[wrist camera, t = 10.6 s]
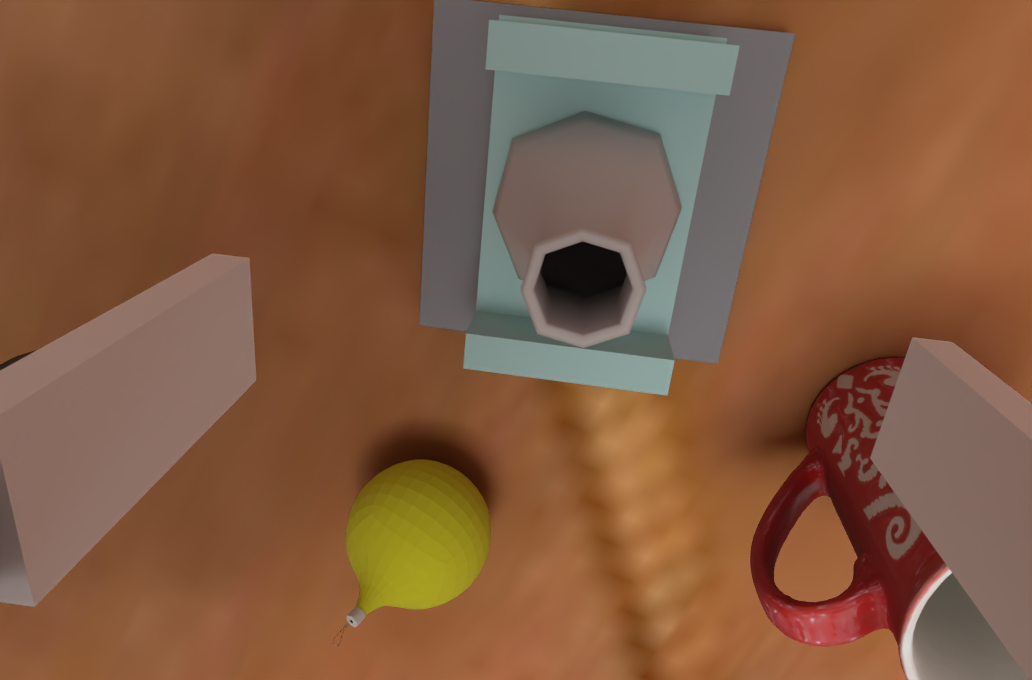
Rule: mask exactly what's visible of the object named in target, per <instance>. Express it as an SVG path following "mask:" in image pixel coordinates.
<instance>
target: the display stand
mask: <svg viewBox="0 0 1032 680" xmlns="http://www.w3.org/2000/svg"><path fill="white" fill-rule="evenodd" d="M794 36H795V33H786V32H776V31H767V30H757V29H747V28H737V27H728V26H718V25H708V24H698V23H689V22H679V21H669V20H659V19H650V18H640V17H630V16H620V15H611V14H601V13H591V12H581V11H572V10H562V9H552V8H542V7H533V6H523V5H513V4H503V3H494V2H484V1H474V0H434V13H433V35H432V57H431V79H430V102H429V124H428V146H427V168H426V191H425V213H424V235H423V257H422V280H421V302H420V324H419V325H421V326H429V327H437V328H444V329H452V330H460V331H467V332H466V339H465V352H464V366H463V369H471V370H478V371H486V372H493V373H501V374H509V375H516V376H524V377H531V378H539V379H546V380H554V381H562V382H569V383H577V384H584V385H592V386H599V387H607V388H615V389H622V390H630V391H637V392H645V393H652V394H660V395H668V390H669V385H670V381H671V376H672V371H673V366H674V361H675V360H674V358H677V359H684V360H692V361H700V362H708V363H715V364H718V360H719V356H720V352H721V347H722V343H723V339H724V335H725V330H726V326H727V322H728V318H729V313H730V309H731V305H732V300H733V296H734V292H735V288H736V283H737V279H738V275H739V271H740V266H741V262H742V258H743V254H744V249H745V245H746V241H747V237H748V232H749V228H750V224H751V219H752V215H753V211H754V207H755V202H756V198H757V194H758V190H759V185H760V181H761V177H762V173H763V168H764V164H765V160H766V156H767V151H768V147H769V143H770V138H771V134H772V130H773V126H774V121H775V117H776V113H777V109H778V104H779V100H780V96H781V92H782V87H783V83H784V79H785V75H786V70H787V66H788V62H789V57H790V53H791V49H792V45H793V40H794ZM583 111H587V112H591V113H594V114H597V115H600V116H604V117H607V118H610V119H613V120H617V121H620V122H623V123H626V124H630V125H633V126H636V127H639V128H643V129H646V130H649V131H652V132H656V133H659V134H660V135H661V138H662V141H663V145H664V148H665V152H666V155H667V158H668V162H669V165H670V168H671V172H672V175H673V178H674V182H675V185H676V189H677V192H678V195H679V199H680V202H681V205H682V209H681V212H680V215H679V217H678V220H677V222H676V225H675V228H674V230H673V233H672V235H671V238H670V241H669V243H668V246H667V248H666V251H665V254H664V256H663V259H662V261H661V264H660V267H659V269H658V272H657V274H656V277H654V278H652V279H649V280H645V281H644V282H645V285H646V292H645V295H644V297H643V300H642V302H641V305H640V308H639V310H638V313H637V315H636V318H635V321H634V323H633V326H632V329H631V331H630V334H627V335H624V336H621V337H617V338H614V339H611V340H608V341H604V342H601V343H598V344H595V345H591V346H588V347H585V348H582V347H578V346H575V345H572V344H568V343H565V342H562V341H558V340H555V339H552V338H548V337H545V336H542V335H539V334H537V332H536V329H535V327H534V324H533V322H532V319H531V316H530V314H529V311H528V309H527V306H526V304H525V301H524V299H523V296H522V294H521V286H522V283H523V280H520V279H518V276H517V274H516V271H515V268H514V266H513V263H512V261H511V258H510V256H509V253H508V251H507V248H506V246H505V243H504V240H503V238H502V235H501V233H500V230H499V228H498V225H497V223H496V220H495V218H494V215H493V213H492V212H493V208H494V204H495V200H496V197H497V193H498V189H499V186H500V182H501V178H502V175H503V171H504V167H505V164H506V160H507V156H508V153H509V149H510V145H511V142H512V139H514V138H516V137H519V136H522V135H524V134H527V133H529V132H532V131H535V130H537V129H540V128H542V127H545V126H547V125H550V124H553V123H555V122H558V121H560V120H563V119H565V118H568V117H571V116H573V115H576V114H578V113H581V112H583Z"/></svg>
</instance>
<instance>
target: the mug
mask: <svg viewBox="0 0 1032 680" xmlns="http://www.w3.org/2000/svg"><path fill="white" fill-rule="evenodd" d="M904 360H905V358H887V359H877V360H874V361H870V362H867V363H864V364H861V365H859V366H856V367H854V368H852V369H850V370H848V371H847V372H845V373H843V374H842V375H840V376H839V377H838V378H836V379H835V380H834V381H833V382H831V383H830V384H829V385H828V386H827V387H826V388H825V389H824V390H823V391H822V392H821V394H820V395H819V396H818V398H817V400H816V401H815V403H814V405H813V407H812V408H811V410H810V413H809V416H808V420H807V425H806V443H807V447H808V450H809V454H808V455H807V456H806V457H805V459H804V460H803V461H802V462H801V463H800V465H799V466H798V467H797V468H796V469H795V470H794V471H793V472H792V473H791V474H790V476H789V477H788V478H787V480H786V481H785V482H784V484H783V485H782V486H781V488H780V489H779V490H778V492H777V493H776V495H775V496H774V498H773V499H772V501H771V502H770V504H769V505H768V507H767V509H766V510H765V512H764V514H763V516H762V518H761V520H760V522H759V524H758V527H757V529H756V532H755V534H754V537H753V541H752V546H751V556H750V565H751V573H752V578H753V582H754V585H755V588H756V591H757V594H758V597H759V599H760V602H761V604H762V606H763V608H764V610H765V613H766V615H767V616H768V618H769V619H770V621H771V622H772V623H773V624H774V625H775V626H776V627H777V628H778V629H779V630H780V631H781V632H782V633H784V634H785V635H786V636H787V637H789V638H791V639H793V640H796V641H799V642H801V643H805V644H809V645H814V646H835V645H841V644H845V643H849V642H852V641H854V640H857V639H859V638H861V637H863V636H865V635H867V634H869V633H871V632H873V631H875V630H879V629H883V628H886V629H889V630H891V631H892V633H893V634H894V637H895V639H896V641H897V644H898V647H899V656H900V661H901V666H902V669H903V671H904V674H905V676H906V678H907V680H1029V679H1028V678H1027V677H1026V675H1025V674H1024V672H1023V671H1022V670H1021V668H1020V667H1019V666H1018V664H1017V663H1016V661H1015V660H1014V659H1013V657H1012V656H1011V654H1010V653H1009V652H1008V650H1007V649H1006V647H1005V646H1004V645H1003V643H1002V642H1001V640H1000V639H999V638H998V636H997V635H996V633H995V632H994V631H993V629H992V628H991V626H990V625H989V624H988V622H987V621H986V619H985V618H984V617H983V615H982V614H981V612H980V611H979V610H978V608H977V607H976V605H975V604H974V603H973V601H972V600H971V598H970V597H969V596H968V594H967V593H966V591H965V590H964V589H963V587H962V586H961V584H960V583H959V582H958V580H957V579H956V577H955V576H954V575H953V573H952V572H951V570H950V569H949V568H948V566H947V565H946V564H945V562H944V561H943V559H942V558H941V557H940V555H939V554H938V552H937V551H936V550H935V548H934V547H933V545H932V544H931V543H930V541H929V540H928V538H927V537H926V536H925V534H924V533H923V531H922V530H921V529H920V527H919V526H918V524H917V523H916V522H915V520H914V519H913V517H912V516H911V515H910V513H909V512H908V510H907V509H906V508H905V506H904V505H903V503H902V502H901V501H900V499H899V498H898V496H897V495H896V494H895V492H894V491H893V489H892V488H891V487H890V485H889V484H888V482H887V481H886V480H885V478H884V477H883V475H882V474H881V473H880V471H879V470H878V468H877V467H876V466H875V464H874V463H873V461H872V460H871V459H870V457H871V454H872V451H873V448H874V445H875V443H876V440H877V437H878V434H879V431H880V428H881V425H882V423H883V420H884V417H885V414H886V411H887V408H888V405H889V402H890V400H891V397H892V394H893V391H894V388H895V385H896V382H897V380H898V377H899V374H900V371H901V368H902V365H903V362H904ZM820 496H828V497H830V498H831V500H832V502H833V505H834V507H835V509H836V512H837V514H838V516H839V518H840V520H841V522H842V524H843V527H844V529H845V531H846V533H847V535H848V537H849V539H850V542H851V544H852V546H853V548H854V550H855V553H856V555H857V557H858V558H857V560H856V561H855V563H854V574H853V581H852V583H851V585H850V586H849V587H848V589H847V590H845V591H844V592H843V593H842V594H840V595H839V596H837V597H835V598H832V599H829V600H826V601H820V602H804V601H798V600H795V599H792V598H791V597H790V596H787V595H785V594H783V593H782V592H781V591H780V590H779V589H778V588H777V586H776V585H775V582H774V567H775V563H776V560H777V557H778V554H779V552H780V549H781V547H782V545H783V543H784V542H785V540H786V538H787V536H788V534H789V532H790V530H791V529H792V528H793V526H794V525H795V523H796V521H797V520H798V518H799V517H800V515H801V514H802V512H803V511H804V510H805V509H806V507H807V506H808V505H809V504H810V503H811V502H812V501H813V500H814V499H816V498H817V497H820Z"/></svg>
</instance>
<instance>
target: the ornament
mask: <svg viewBox="0 0 1032 680" xmlns="http://www.w3.org/2000/svg"><path fill="white" fill-rule="evenodd" d="M490 540H491V523H490V517H489V512H488V508H487V505H486V503H485V501H484V499H483V497H482V495H481V494H480V492H479V491H478V489H477V488H476V486H475V485H474V484H473V483H472V482H471V481H470V480H469V479H468V478H467V477H466V476H465V475H463V474H462V473H461V472H459V471H458V470H456V469H454V468H452V467H450V466H449V465H446V464H443V463H440V462H437V461H431V460H424V459H416V460H410V461H405V462H401V463H399V464H396V465H393V466H391V467H389V468H387V469H385V470H384V471H382V472H380V473H378V474H377V475H376V476H375V477H374V478H373V479H372V480H370V481H369V482H368V483H367V484H366V485H365V486H364V487H363V489H362V490H361V491H360V493H359V494H358V496H357V498H356V499H355V501H354V503H353V506H352V508H351V510H350V513H349V517H348V522H347V528H346V548H347V554H348V557H349V560H350V564H351V566H352V569H353V571H354V573H355V575H356V577H357V579H358V581H359V587H360V593H359V598H358V602H357V605H356V607H355V608H354V609H353V610H352V611H351V612H350V614H349V615H348V616H347V621H348V623H349V625H351V626H353V627H357V626H358V625H359V624H360V623H361V622H362V620H363V619H364V618H365V616H366V615H367V614H368V613H370V612H371V611H373V610H374V609H377V608H379V607H382V606H394V607H400V608H407V609H427V608H431V607H435V606H438V605H442V604H444V603H446V602H448V601H450V600H452V599H453V598H455V597H457V596H458V595H460V594H461V593H462V592H463V591H465V590H466V589H467V588H468V587H469V586H470V585H471V583H472V582H473V581H474V580H475V578H476V577H477V576H478V574H479V573H480V571H481V569H482V567H483V565H484V563H485V560H486V558H487V556H488V551H489V547H490ZM346 625H347V624H346ZM346 625H345V626H346ZM349 625H348V626H349ZM345 626H344V627H345ZM344 630H345V629H344ZM340 632H341V631H340ZM340 632H339V633H340ZM339 633H338V634H339ZM342 634H343V633H342ZM341 638H342V636H341ZM334 639H335V638H334ZM340 641H341V640H340ZM339 644H340V643H339ZM335 646H336V645H335ZM337 646H338V645H337Z"/></svg>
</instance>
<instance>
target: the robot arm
mask: <svg viewBox="0 0 1032 680" xmlns="http://www.w3.org/2000/svg"><path fill="white" fill-rule="evenodd" d="M255 381H256V365H255V347H254V329H253V311H252V293H251V276H250V258H247V257H238V256H230V255H222V254H213V253H212V254H210V255H209V256H207V257H205V258H203V259H201V260H199V261H198V262H196V263H194V264H192V265H190V266H189V267H187V268H185V269H183V270H181V271H180V272H178V273H176V274H174V275H172V276H171V277H169V278H167V279H165V280H163V281H161V282H160V283H158V284H156V285H154V286H152V287H151V288H149V289H147V290H145V291H143V292H142V293H140V294H138V295H136V296H134V297H133V298H131V299H129V300H127V301H125V302H123V303H122V304H120V305H118V306H116V307H114V308H113V309H111V310H109V311H107V312H105V313H104V314H102V315H100V316H98V317H96V318H95V319H93V320H91V321H89V322H87V323H85V324H84V325H82V326H80V327H78V328H76V329H75V330H73V331H71V332H69V333H67V334H66V335H64V336H62V337H60V338H58V339H57V340H55V341H53V342H51V343H49V344H47V345H46V346H44V347H42V348H40V349H38V350H35V351H32V352H29V353H26V354H22V355H19V356H16V357H14V358H12V359H10V360H8V361H6V362H5V363H3V364H1V365H0V602H3V603H10V604H17V605H24V606H31V607H35V606H36V605H37V604H38V603H39V602H40V601H41V600H42V599H43V598H44V597H45V596H46V595H47V594H48V593H49V592H50V591H51V590H52V589H53V588H54V587H55V586H56V585H57V584H58V583H59V582H60V581H61V580H62V579H63V577H64V576H65V575H66V574H67V573H68V572H69V571H70V570H71V569H72V568H73V567H74V566H75V565H76V564H77V563H78V562H79V561H80V560H81V559H82V558H83V557H84V556H85V555H86V554H87V553H88V552H89V551H90V550H91V549H92V548H93V547H94V546H95V545H96V544H97V543H98V542H99V541H100V540H101V539H102V538H103V537H104V536H105V535H106V534H107V533H108V531H109V530H110V529H111V528H112V527H113V526H114V525H115V524H116V523H117V522H118V521H119V520H120V519H121V518H122V517H123V516H124V515H125V514H126V513H127V512H128V511H129V510H130V509H131V508H132V507H133V506H134V505H135V504H136V503H137V502H138V501H139V500H140V499H141V498H142V497H143V496H144V495H145V494H146V493H147V492H148V491H149V490H150V489H151V488H152V487H153V485H154V484H155V483H156V482H157V481H158V480H159V479H160V478H161V477H162V476H163V475H164V474H165V473H166V472H167V471H168V470H169V469H170V468H171V467H172V466H173V465H174V464H175V463H176V462H177V461H178V460H179V459H180V458H181V457H182V456H183V455H184V454H185V453H186V452H187V451H188V450H189V449H190V448H191V447H192V446H193V445H194V444H195V443H196V442H197V441H198V440H199V438H200V437H201V436H202V435H203V434H204V433H205V432H206V431H207V430H208V429H209V428H210V427H211V426H212V425H213V424H214V423H215V422H216V421H217V420H218V419H219V418H220V417H221V416H222V415H223V414H224V413H225V412H226V411H227V410H228V409H229V408H230V407H231V406H232V405H233V404H234V403H235V402H236V401H237V400H238V399H239V398H240V397H241V396H242V395H243V394H244V392H245V391H246V390H247V389H248V388H249V387H250V386H251V385H252V384H253V383H254V382H255ZM870 459H871V460H872V461H873V463H874V464H875V466H876V467H877V468H878V470H879V471H880V473H881V474H882V475H883V477H884V478H885V480H886V481H887V482H888V484H889V485H890V487H891V488H892V489H893V491H894V492H895V494H896V495H897V496H898V498H899V499H900V501H901V502H902V503H903V505H904V506H905V508H906V509H907V510H908V512H909V513H910V515H911V516H912V517H913V519H914V520H915V522H916V523H917V524H918V526H919V527H920V529H921V530H922V531H923V533H924V534H925V536H926V537H927V538H928V540H929V541H930V543H931V544H932V545H933V547H934V548H935V550H936V551H937V552H938V554H939V555H940V557H941V558H942V559H943V561H944V562H945V564H946V565H947V566H948V568H949V569H950V570H951V572H952V573H953V575H954V576H955V577H956V579H957V580H958V582H959V583H960V584H961V586H962V587H963V589H964V590H965V591H966V593H967V594H968V596H969V597H970V598H971V600H972V601H973V603H974V604H975V605H976V607H977V608H978V610H979V611H980V612H981V614H982V615H983V617H984V618H985V619H986V621H987V622H988V624H989V625H990V626H991V628H992V629H993V631H994V632H995V633H996V635H997V636H998V638H999V639H1000V640H1001V642H1002V643H1003V645H1004V646H1005V647H1006V649H1007V650H1008V652H1009V653H1010V654H1011V656H1012V657H1013V659H1014V660H1015V661H1016V663H1017V664H1018V666H1019V667H1020V668H1021V670H1022V671H1023V672H1024V674H1025V675H1026V677H1027V678H1028V679H1029V680H1032V403H1030V402H1029V401H1028V400H1027V399H1025V398H1024V397H1023V396H1021V395H1020V394H1019V393H1018V392H1016V391H1015V390H1014V389H1012V388H1011V387H1010V386H1009V385H1007V384H1006V383H1005V382H1003V381H1002V380H1001V379H1000V378H998V377H997V376H996V375H994V374H993V373H992V372H991V371H989V370H988V369H987V368H985V367H984V366H983V365H982V364H980V363H979V362H978V361H976V360H975V359H974V358H973V357H971V356H970V355H969V354H967V353H966V352H965V351H964V350H962V349H961V348H960V347H958V346H957V345H956V344H955V343H953V342H949V341H941V340H932V339H924V338H916V337H912V340H911V342H910V345H909V348H908V351H907V354H906V357H905V360H904V362H903V365H902V368H901V371H900V374H899V377H898V380H897V382H896V385H895V388H894V391H893V394H892V397H891V400H890V402H889V405H888V408H887V411H886V414H885V417H884V420H883V423H882V425H881V428H880V431H879V434H878V437H877V440H876V443H875V445H874V448H873V451H872V454H871V457H870Z"/></svg>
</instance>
